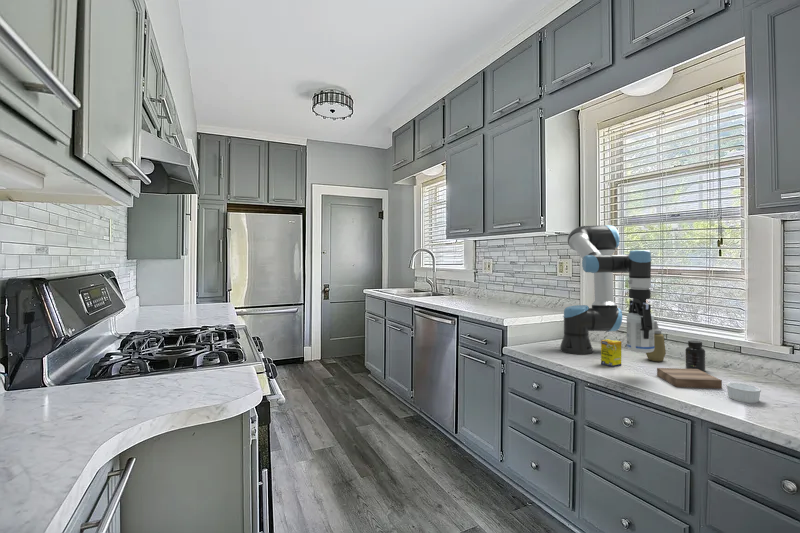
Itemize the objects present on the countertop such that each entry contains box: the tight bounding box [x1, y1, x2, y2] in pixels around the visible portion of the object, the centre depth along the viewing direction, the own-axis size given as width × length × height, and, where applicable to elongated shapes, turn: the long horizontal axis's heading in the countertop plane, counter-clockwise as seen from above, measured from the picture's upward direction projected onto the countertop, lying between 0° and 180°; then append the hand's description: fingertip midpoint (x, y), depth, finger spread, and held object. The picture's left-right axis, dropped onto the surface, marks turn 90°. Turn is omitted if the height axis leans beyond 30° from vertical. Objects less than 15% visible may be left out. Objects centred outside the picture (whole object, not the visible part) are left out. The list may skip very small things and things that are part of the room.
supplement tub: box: [626, 312, 655, 354], centre depth 161 cm, size 10×10×15 cm
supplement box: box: [600, 338, 622, 368], centre depth 178 cm, size 6×6×11 cm
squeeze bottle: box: [645, 320, 667, 362], centre depth 185 cm, size 8×8×18 cm
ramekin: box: [725, 382, 762, 404], centre depth 134 cm, size 9×9×4 cm
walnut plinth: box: [656, 367, 723, 390], centre depth 153 cm, size 15×15×3 cm
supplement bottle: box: [684, 340, 706, 372], centre depth 169 cm, size 7×7×12 cm
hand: (639, 343), depth 161 cm, fingers closed on supplement tub, 9 cm apart
